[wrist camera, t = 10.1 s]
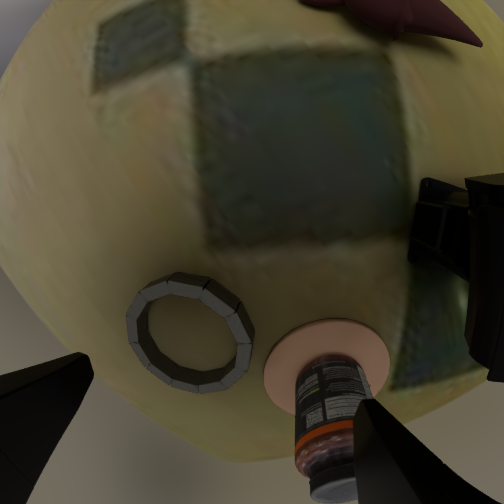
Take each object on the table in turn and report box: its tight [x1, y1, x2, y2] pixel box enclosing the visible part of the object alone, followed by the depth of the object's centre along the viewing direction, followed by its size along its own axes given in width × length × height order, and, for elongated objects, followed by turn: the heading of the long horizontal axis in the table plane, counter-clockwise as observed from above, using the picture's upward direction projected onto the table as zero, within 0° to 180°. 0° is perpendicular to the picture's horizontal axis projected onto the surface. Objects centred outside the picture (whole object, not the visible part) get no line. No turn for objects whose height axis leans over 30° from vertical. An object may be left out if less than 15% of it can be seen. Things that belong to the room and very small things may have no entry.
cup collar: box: [126, 272, 255, 394], centre depth 21 cm, size 10×10×2 cm
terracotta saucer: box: [264, 318, 390, 415], centre depth 21 cm, size 11×11×1 cm
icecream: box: [301, 0, 483, 47], centre depth 10 cm, size 7×7×15 cm
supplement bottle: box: [295, 355, 373, 504], centre depth 15 cm, size 6×6×11 cm
